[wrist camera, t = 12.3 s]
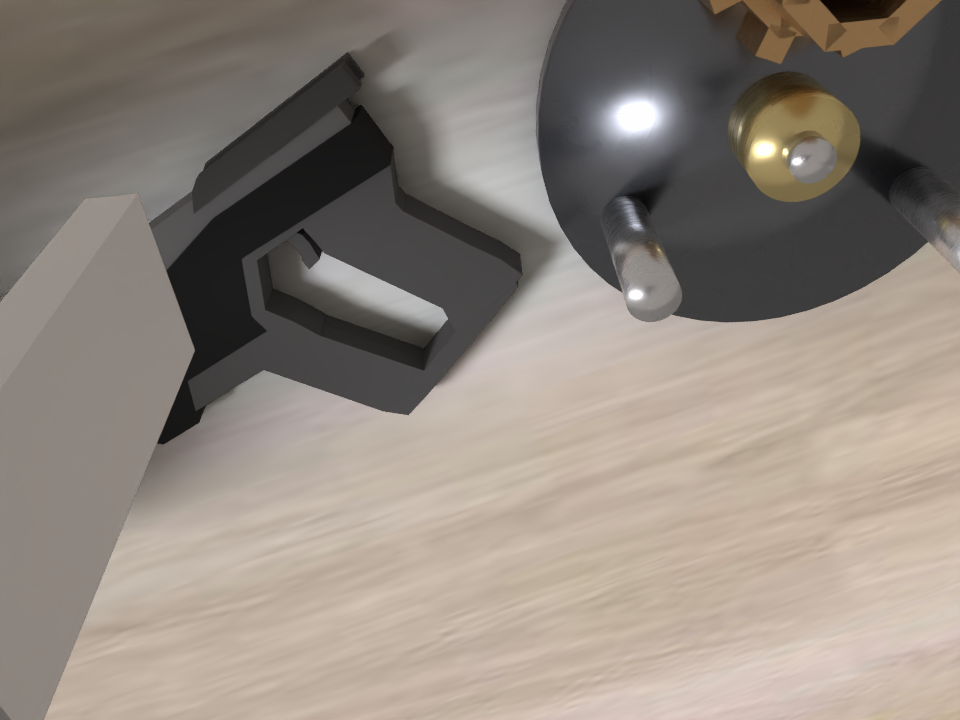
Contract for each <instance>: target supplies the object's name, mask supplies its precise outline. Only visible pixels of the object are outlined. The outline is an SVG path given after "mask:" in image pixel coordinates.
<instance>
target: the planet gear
mask: <svg viewBox="0 0 960 720" xmlns="http://www.w3.org/2000/svg"><path fill="white" fill-rule="evenodd" d="M700 1H701V2H702V3H703V4H704V5H705V6H706V7H707V8H708V9H710V10H711V11H712V12H713V13H714V14H717V13H719V12H720V11H722V10H724V9H726V8H728V7H730V6H732V5H734V4H736V3H738V2H740V3H741V4H742V5H743V6H744V7H745V8H746V9H747V12H746V14H745V17H744V19H743V21H742V23H741V25H740V27H739V29H738V32H737V34H736V36H735V37H736V38H738V39H739V40H740V41H741V42H742V43H743V44H744V45H745V46H746V47H747V48H748V49H749V50H750V51H751V52H752V53H753V54H754V55H755V56H758V57H761V58H764V59H767V60H770V61H773V62H776V63H779V64H781V63H782V61H783V59H784V57H785V55H786V53H787V51H788V49H789V47H790V45H791V43H792V41H793V39H794V37H797V36H805V37H806V38H807V39H809V40H810V41H811V42H813V43H814V44H815V45H816V46H818V47H819V48H820V49H822V50H823V51H824V52H828V51H835V52H836V53H837V54H839V55H840V56H841V57H845V56H847V55H849V54H851V53H853V52H855V51H857V50H859V49H862V48H866V47H876V46H885V45H894V44H895V43H896V42H897V41H898V40H899V39H900V38H902V37H903V36H904V35H905V34H906V33H907V32H908V31H909V30H910V29H911V28H912V27H913V26H914V25H915V24H917V23H918V22H919V21H920V20H921V19H922V18H923V17H924V16H925V15H926V14H927V13H928V12H929V11H930V10H932V9H933V8H934V7H935V6H936V5H937V4H938V3H939V2H940V1H941V0H700Z"/></svg>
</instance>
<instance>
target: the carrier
mask: <svg viewBox="0 0 960 720" xmlns="http://www.w3.org/2000/svg"><path fill="white" fill-rule="evenodd" d="M746 12H747V9H746V8H745V7H744V6H743V5H742V4H741V3H740V2H738V3H736V4H734V5H732V6H730V7H728V8H726V9H724V10H722V11H720V12H719V13H717V14H714V13H713V12H712V11H711V10H710V9H708V8H707V7H706V6H705V5H704V4H703V3H702V2H701V1H700V0H567V2H566V4H565V6H564V8H563V9H562V12H561V14H560V17H559V19H558V22H557V24H556V26H555V29H554V31H553V34H552V36H551V39H550V41H549V45H548V48H547V52H546V56H545V59H544V63H543V67H542V70H541V75H540V82H539V89H538V96H537V103H536V136H537V144H538V152H539V160H540V166H541V170H542V175H543V179H544V183H545V186H546V190H547V194H548V197H549V201H550V204H551V206H552V208H553V211H554V213H555V215H556V218H557V220H558V222H559V224H560V227H561V228H562V230H563V232H564V233H565V235H566V236H567V238H568V240H569V241H570V243H571V244H572V246H573V248H574V249H575V250H576V251H577V252H578V254H579V255H580V256H581V257H582V258H583V260H584V261H585V262H586V263H587V264H588V265H589V267H590V268H591V269H593V270H594V271H595V272H596V273H597V274H598V275H599V276H601V277H602V278H603V279H604V280H605V281H606V282H607V283H609V284H610V285H611V286H613V287H615V288H616V289H618V290H619V291H621V292H622V293H623V295H624V298H625V302H626V305H627V308H628V310H629V312H630V313H631V314H632V315H633V316H634V317H635V318H637V319H639V320H641V321H646V322H655V321H660V320H663V319H665V318H667V317H669V316H670V315H675V316H681V317H686V318H691V319H696V320H703V321H717V322H745V321H758V320H765V319H772V318H779V317H783V316H787V315H791V314H795V313H799V312H803V311H807V310H810V309H813V308H816V307H819V306H821V305H824V304H827V303H830V302H833V301H835V300H837V299H839V298H842V297H844V296H846V295H848V294H850V293H852V292H854V291H857V290H859V289H861V288H863V287H864V286H866V285H868V284H870V283H871V282H873V281H875V280H876V279H878V278H880V277H882V276H883V275H885V274H887V273H888V272H890V271H891V270H892V269H894V268H895V267H897V266H898V265H899V264H901V263H902V262H904V261H905V260H906V259H908V258H909V257H911V256H912V255H913V254H914V253H916V252H917V251H918V250H919V249H920V248H921V247H922V246H924V245H925V244H926V243H927V242H929V243H930V244H931V245H932V246H933V247H934V248H935V249H936V250H937V251H938V252H939V253H940V254H941V255H942V256H943V257H944V258H945V259H946V260H947V261H948V262H949V263H950V264H951V265H952V266H953V267H954V268H955V269H956V270H957V271H958V272H959V273H960V0H941V1H940V2H939V3H938V4H937V5H936V6H935V7H934V8H933V9H932V10H930V11H929V12H928V13H927V14H926V15H925V16H924V17H923V18H922V19H921V20H920V21H919V22H918V23H917V24H915V25H914V26H913V27H912V28H911V29H910V30H909V31H908V32H907V33H906V34H905V35H904V36H903V37H902V38H900V39H899V40H898V41H897V42H896V43H895V44H894V45H885V46H876V47H866V48H862V49H859V50H857V51H855V52H853V53H851V54H849V55H847V56H845V57H841V56H840V55H839V54H837V53H836V52H835V51H828V52H824V51H823V50H822V49H820V48H819V47H818V46H816V45H815V44H814V43H813V42H811V41H810V40H809V39H807V38H806V37H805V36H797V37H794V39H793V41H792V43H791V45H790V47H789V49H788V51H787V53H786V55H785V57H784V59H783V61H782V63H781V64H779V63H776V62H773V61H770V60H767V59H764V58H761V57H758V56H755V55H754V54H753V53H752V52H751V51H750V50H749V49H748V48H747V47H746V46H745V45H744V44H743V43H742V42H741V41H740V40H739V39H738V38H736V37H735V36H736V34H737V32H738V29H739V27H740V25H741V23H742V21H743V19H744V17H745V14H746Z"/></svg>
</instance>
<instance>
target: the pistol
mask: <svg viewBox="0 0 960 720" xmlns="http://www.w3.org/2000/svg"><path fill="white" fill-rule="evenodd" d="M362 77H364V73H363V72H362V70H361V69H360V68H359V66H358V65H357V64H356V63H355V61H354V60H353V59H352V57H351V56H350V55H349V54H348V52H347V53H346V54H345V55H344V56H342V57H341V58H340V59H338V60H337V61H336V62H335V63H333V64H332V65H331V66H329V67H328V68H327V69H326V70H324V71H323V72H322V73H320V74H319V75H318V76H317V77H315V78H314V79H313V80H311V81H310V82H309V83H308V84H306V85H305V86H304V87H302V88H301V89H300V90H299V91H297V92H296V93H295V94H293V95H292V96H291V97H290V98H288V99H287V100H286V101H285V102H283V103H282V104H281V105H279V106H278V107H277V108H276V109H274V110H273V111H272V112H270V113H269V114H268V115H267V116H265V117H264V118H263V119H261V120H260V121H259V122H258V123H256V124H255V125H254V126H252V127H251V128H250V129H249V130H247V131H246V132H245V133H243V134H242V135H241V136H240V137H238V138H237V139H236V140H234V141H233V142H232V143H231V144H229V145H228V146H227V147H225V148H224V149H223V150H222V151H220V152H219V153H218V154H216V155H215V156H214V157H213V158H211V159H210V160H209V161H207V163H206V164H205V167H204V170H203V171H202V172H201V173H200V174H199V175H198V177H197V179H196V181H195V185H194V188H193V191H192V192H191V193H189V194H188V195H186V196H185V197H184V198H182V199H181V200H180V201H178V202H177V203H176V204H174V205H173V206H171V207H170V208H169V209H167V210H166V211H165V212H163V213H162V214H161V215H159V216H158V217H157V218H155V219H154V220H152V221H151V222H150V223H149V225H150V228H151V231H152V233H153V236H154V239H155V242H156V244H157V247H158V250H159V253H160V255H161V258H162V261H163V264H164V266H165V269H166V272H167V275H168V277H169V280H170V283H171V286H172V288H173V291H174V294H175V297H176V299H177V302H178V305H179V308H180V310H181V313H182V316H183V319H184V321H185V324H186V327H187V330H188V332H189V335H190V338H191V341H192V343H193V346H194V349H195V351H194V354H193V356H192V359H191V361H190V364H189V366H188V369H187V371H186V373H185V376H184V378H183V381H182V383H181V386H180V388H179V391H178V393H177V395H176V398H175V400H174V403H173V405H172V408H171V410H170V413H169V415H168V417H167V420H166V422H165V425H164V427H163V430H162V432H161V434H160V437H159V439H158V442H157V443H158V444H165V443H166V442H168V441H170V440H171V439H173V438H175V437H176V436H178V435H180V434H181V433H183V432H185V431H186V430H188V429H190V428H191V427H193V426H194V425H196V424H198V423H199V422H200V419H201V416H202V414H203V411H204V409H205V406H206V405H207V404H208V403H210V402H212V401H213V400H215V399H216V398H218V397H220V396H221V395H223V394H225V393H226V392H228V391H230V390H231V389H233V388H235V387H236V386H238V385H240V384H241V383H243V382H244V381H246V380H248V379H249V378H251V377H253V376H254V375H256V374H258V373H259V372H261V371H263V370H266V371H269V372H272V373H275V374H277V375H280V376H283V377H286V378H289V379H292V380H295V381H298V382H301V383H303V384H306V385H309V386H312V387H315V388H318V389H321V390H324V391H326V392H329V393H332V394H335V395H338V396H341V397H344V398H347V399H350V400H352V401H355V402H358V403H361V404H364V405H367V406H370V407H373V408H375V409H378V410H381V411H386V412H392V413H398V414H405V415H409V414H410V413H411V412H412V411H413V410H414V409H415V408H416V406H417V405H418V404H419V403H420V402H421V401H422V400H423V399H424V398H425V397H426V396H427V395H428V393H429V392H430V391H431V390H432V389H433V388H434V387H435V385H436V384H437V383H438V382H439V381H440V380H441V379H442V377H443V376H444V375H445V374H446V373H447V372H448V370H449V369H450V368H451V367H452V366H453V365H454V363H455V362H456V361H457V360H458V359H459V358H460V356H461V355H462V354H463V353H464V352H465V351H466V349H467V348H468V347H469V346H470V345H471V344H472V342H473V341H474V340H475V339H476V338H477V336H478V335H479V334H480V333H481V331H482V330H483V329H484V328H485V327H486V325H487V324H488V323H489V322H490V321H491V319H492V318H493V317H494V316H495V314H496V313H497V312H498V311H499V310H500V308H501V307H502V306H503V305H504V304H505V302H506V301H507V300H508V299H509V298H510V296H511V295H512V294H513V293H514V292H515V290H516V289H517V288H518V287H519V286H518V279H519V278H520V277H521V276H522V275H523V274H522V267H521V259H520V254H518V253H517V252H515V251H514V250H512V249H511V248H509V247H508V246H506V245H505V244H503V243H502V242H500V241H499V240H497V239H494V238H492V237H490V236H488V235H486V234H484V233H482V232H480V231H478V230H476V229H474V228H472V227H469V226H467V225H465V224H463V223H462V222H460V221H458V220H456V219H454V218H452V217H450V216H448V215H446V214H444V213H442V212H440V211H438V210H436V209H434V208H432V207H430V206H428V205H426V204H424V203H422V202H420V201H418V200H417V199H415V198H413V197H411V196H409V195H407V194H405V193H404V192H403V191H402V189H401V188H400V187H399V186H398V182H397V175H396V168H395V160H394V153H393V148H394V147H393V146H392V145H391V144H390V142H389V141H388V140H387V138H386V137H385V136H384V134H383V133H382V132H381V130H380V129H379V128H378V126H377V125H376V124H375V122H374V121H373V120H372V118H371V117H370V116H369V114H368V113H367V111H366V110H365V109H364V107H363V106H362V105H361V106H360V107H358V108H357V109H354V108H353V106H352V105H351V104H350V102H349V101H348V100H347V98H348V97H350V96H351V95H352V94H354V93H355V92H356V91H358V90H359V89H360V87H361V82H360V79H361V78H362ZM284 241H287V242H289V243H291V244H292V245H293V246H294V247H295V248H296V249H297V250H298V252H299V253H300V255H301V256H302V261H303V262H304V263H305V265H306V266H307V267H308V269H310V268H311V267H312V266H313V265H314V264H315V263H316V262H317V261H318V260H319V259H320V256H321V252H322V250H323V252H324V253H325V254H327V255H330V256H332V257H334V258H336V259H338V260H340V261H342V262H345V263H347V264H349V265H351V266H353V267H355V268H358V269H360V270H362V271H364V272H366V273H368V274H370V275H373V276H375V277H377V278H379V279H381V280H383V281H385V282H388V283H390V284H392V285H394V286H396V287H398V288H400V289H403V290H405V291H407V292H409V293H411V294H413V295H415V296H418V297H420V298H422V299H424V300H426V301H428V302H430V303H432V304H435V305H437V306H439V307H441V308H443V310H444V312H445V313H446V315H447V317H448V320H447V321H446V322H445V323H444V325H443V326H442V327H441V329H440V330H439V331H438V332H437V334H436V335H435V336H434V338H433V339H432V340H431V341H430V343H429V344H428V345H427V346H426V348H425V349H423V348H420V347H418V346H415V345H412V344H409V343H406V342H403V341H400V340H397V339H394V338H392V337H389V336H386V335H383V334H380V333H377V332H374V331H371V330H368V329H365V328H363V327H360V326H357V325H354V324H351V323H348V322H345V321H342V320H339V319H337V318H334V317H331V316H328V315H325V313H323V312H321V311H319V310H317V309H315V308H314V307H312V306H310V305H308V304H306V303H305V302H303V301H301V300H299V299H297V298H294V297H292V296H289V295H287V294H285V293H282V292H280V291H277V290H275V289H273V287H272V281H271V275H270V268H269V262H268V256H267V253H268V252H270V251H271V250H272V249H274V248H275V247H277V246H278V245H280V244H281V243H282V242H284Z"/></svg>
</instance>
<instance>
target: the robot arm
mask: <svg viewBox="0 0 960 720" xmlns="http://www.w3.org/2000/svg"><path fill="white" fill-rule="evenodd" d="M194 351H195V349H194V346H193V343H192V341H191V338H190V335H189V332H188V330H187V327H186V324H185V321H184V319H183V316H182V313H181V310H180V308H179V305H178V302H177V299H176V297H175V294H174V291H173V288H172V286H171V283H170V280H169V277H168V275H167V272H166V269H165V266H164V264H163V261H162V258H161V255H160V253H159V250H158V247H157V244H156V242H155V239H154V236H153V233H152V231H151V228H150V225H149V222H148V220H147V217H146V214H145V211H144V209H143V206H142V203H141V200H140V198H139V195H138V193H136V194H126V195H117V196H107V197H98V198H88V199H84V200H83V202H82V203H81V204H80V205H79V207H78V208H77V209H76V210H75V211H74V213H73V214H72V215H71V216H70V218H69V219H68V220H67V221H66V222H65V224H64V225H63V226H62V227H61V229H60V230H59V231H58V232H57V233H56V235H55V236H54V237H53V238H52V240H51V241H50V242H49V243H48V244H47V246H46V247H45V248H44V249H43V251H42V252H41V253H40V254H39V255H38V257H37V258H36V259H35V260H34V261H33V263H32V264H31V265H30V266H29V268H28V269H27V270H26V271H25V272H24V274H23V275H22V276H21V277H20V279H19V280H18V281H17V282H16V283H15V285H14V286H13V287H12V288H11V290H10V291H9V292H8V293H7V294H6V296H5V297H4V298H3V299H2V301H1V302H0V720H44V718H45V715H46V713H47V711H48V708H49V706H50V703H51V701H52V698H53V696H54V693H55V691H56V689H57V686H58V684H59V681H60V679H61V676H62V674H63V672H64V669H65V667H66V664H67V662H68V659H69V657H70V654H71V652H72V650H73V647H74V645H75V642H76V640H77V637H78V635H79V632H80V630H81V628H82V625H83V623H84V620H85V618H86V615H87V613H88V610H89V608H90V606H91V603H92V601H93V598H94V596H95V593H96V591H97V588H98V586H99V584H100V581H101V579H102V576H103V574H104V571H105V569H106V566H107V564H108V562H109V559H110V557H111V554H112V552H113V549H114V547H115V544H116V542H117V540H118V537H119V535H120V532H121V530H122V527H123V525H124V522H125V520H126V518H127V515H128V513H129V510H130V508H131V505H132V503H133V500H134V498H135V496H136V493H137V491H138V488H139V486H140V483H141V481H142V478H143V476H144V474H145V471H146V469H147V466H148V464H149V461H150V459H151V456H152V454H153V452H154V449H155V447H156V444H157V442H158V439H159V437H160V434H161V432H162V430H163V427H164V425H165V422H166V420H167V417H168V415H169V413H170V410H171V408H172V405H173V403H174V400H175V398H176V395H177V393H178V391H179V388H180V386H181V383H182V381H183V378H184V376H185V373H186V371H187V369H188V366H189V364H190V361H191V359H192V356H193V354H194Z"/></svg>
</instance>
